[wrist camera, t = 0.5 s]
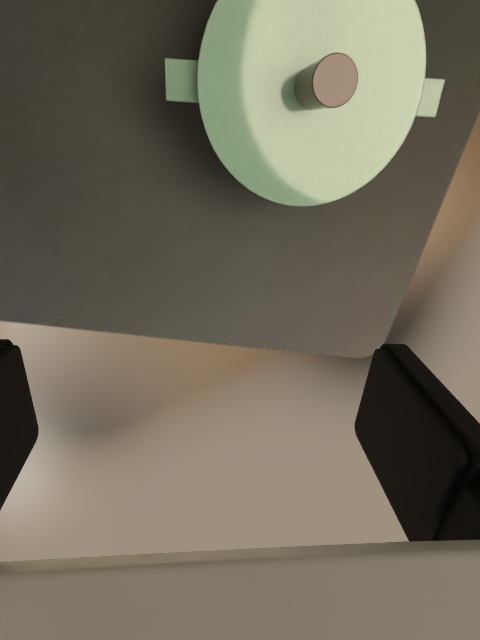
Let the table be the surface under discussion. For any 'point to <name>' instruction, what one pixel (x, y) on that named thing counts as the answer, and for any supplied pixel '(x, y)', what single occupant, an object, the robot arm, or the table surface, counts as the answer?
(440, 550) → the robot arm
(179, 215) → the table surface
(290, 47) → the pot lid
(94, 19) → the table surface
